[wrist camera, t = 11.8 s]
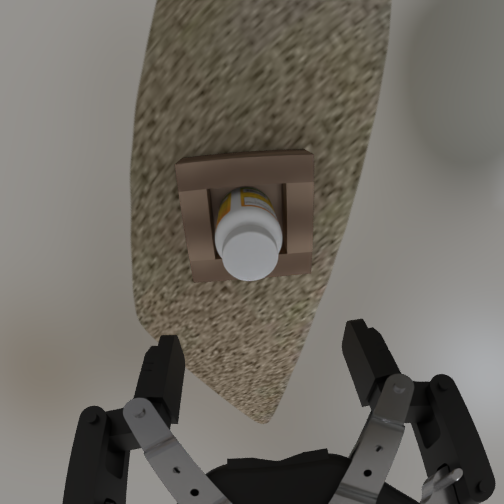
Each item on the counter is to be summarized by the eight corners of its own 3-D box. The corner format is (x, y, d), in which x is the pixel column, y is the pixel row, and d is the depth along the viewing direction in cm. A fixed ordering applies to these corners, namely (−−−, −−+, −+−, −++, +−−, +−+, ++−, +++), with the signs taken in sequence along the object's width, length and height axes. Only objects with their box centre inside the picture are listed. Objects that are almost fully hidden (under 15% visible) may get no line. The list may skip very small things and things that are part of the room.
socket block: (182, 158, 26) (174, 164, 23) (304, 149, 27) (313, 154, 23) (197, 264, 32) (193, 282, 29) (303, 256, 32) (311, 273, 29)
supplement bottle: (231, 242, 30) (229, 298, 22) (210, 197, 28) (198, 239, 19) (279, 225, 30) (297, 275, 21) (261, 177, 27) (274, 210, 18)
